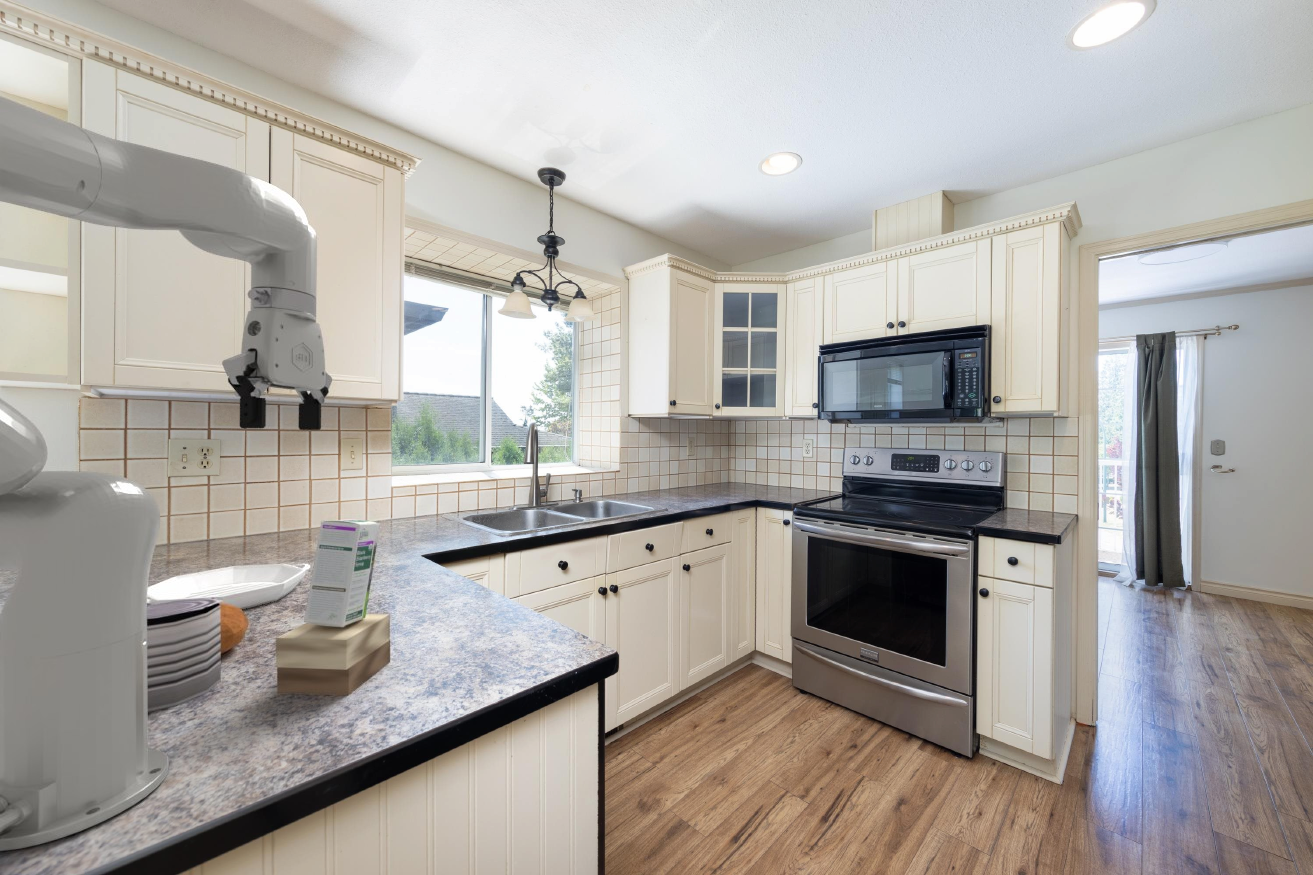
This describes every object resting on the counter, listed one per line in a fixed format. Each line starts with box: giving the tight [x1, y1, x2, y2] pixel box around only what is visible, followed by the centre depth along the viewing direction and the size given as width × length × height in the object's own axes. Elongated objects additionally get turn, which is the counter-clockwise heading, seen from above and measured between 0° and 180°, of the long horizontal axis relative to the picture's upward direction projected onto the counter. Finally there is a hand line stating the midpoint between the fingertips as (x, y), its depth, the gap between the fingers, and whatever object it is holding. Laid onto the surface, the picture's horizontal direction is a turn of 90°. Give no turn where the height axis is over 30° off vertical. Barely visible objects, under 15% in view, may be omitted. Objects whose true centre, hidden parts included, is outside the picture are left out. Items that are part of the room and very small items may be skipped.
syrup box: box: [303, 518, 381, 627], centre depth 75 cm, size 6×6×14 cm
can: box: [147, 598, 223, 713], centre depth 70 cm, size 11×11×12 cm
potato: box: [219, 603, 249, 655], centre depth 82 cm, size 9×11×8 cm
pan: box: [147, 563, 311, 611], centre depth 109 cm, size 31×25×4 cm
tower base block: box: [276, 639, 391, 696], centre depth 74 cm, size 10×10×4 cm
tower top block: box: [275, 613, 391, 670], centre depth 74 cm, size 10×10×4 cm
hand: (283, 429), depth 72 cm, fingers open, 9 cm apart
